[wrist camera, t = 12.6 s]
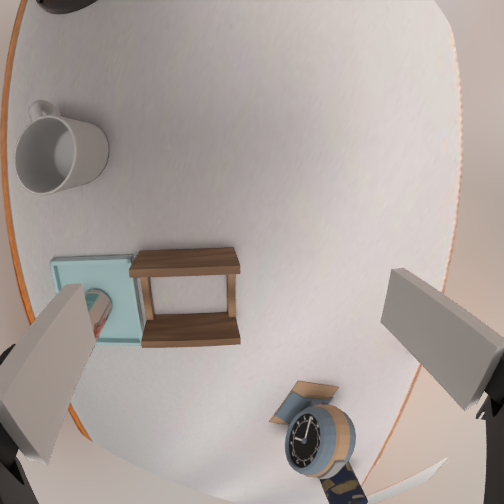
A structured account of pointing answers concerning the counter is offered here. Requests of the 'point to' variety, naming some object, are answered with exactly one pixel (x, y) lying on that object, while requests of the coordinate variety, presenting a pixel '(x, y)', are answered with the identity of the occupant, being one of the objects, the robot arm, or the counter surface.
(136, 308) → the tray
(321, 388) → the alarm clock
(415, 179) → the counter surface
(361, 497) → the canister
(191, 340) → the cradle
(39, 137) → the mug
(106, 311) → the beer can
